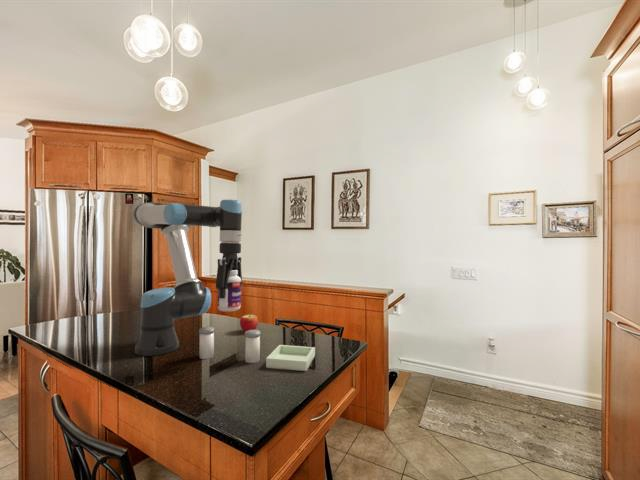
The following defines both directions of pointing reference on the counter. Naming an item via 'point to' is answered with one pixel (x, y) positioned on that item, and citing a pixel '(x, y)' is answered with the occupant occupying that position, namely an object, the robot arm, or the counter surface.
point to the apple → (248, 322)
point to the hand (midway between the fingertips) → (229, 304)
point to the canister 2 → (252, 346)
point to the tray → (291, 357)
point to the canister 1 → (206, 342)
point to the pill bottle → (232, 292)
